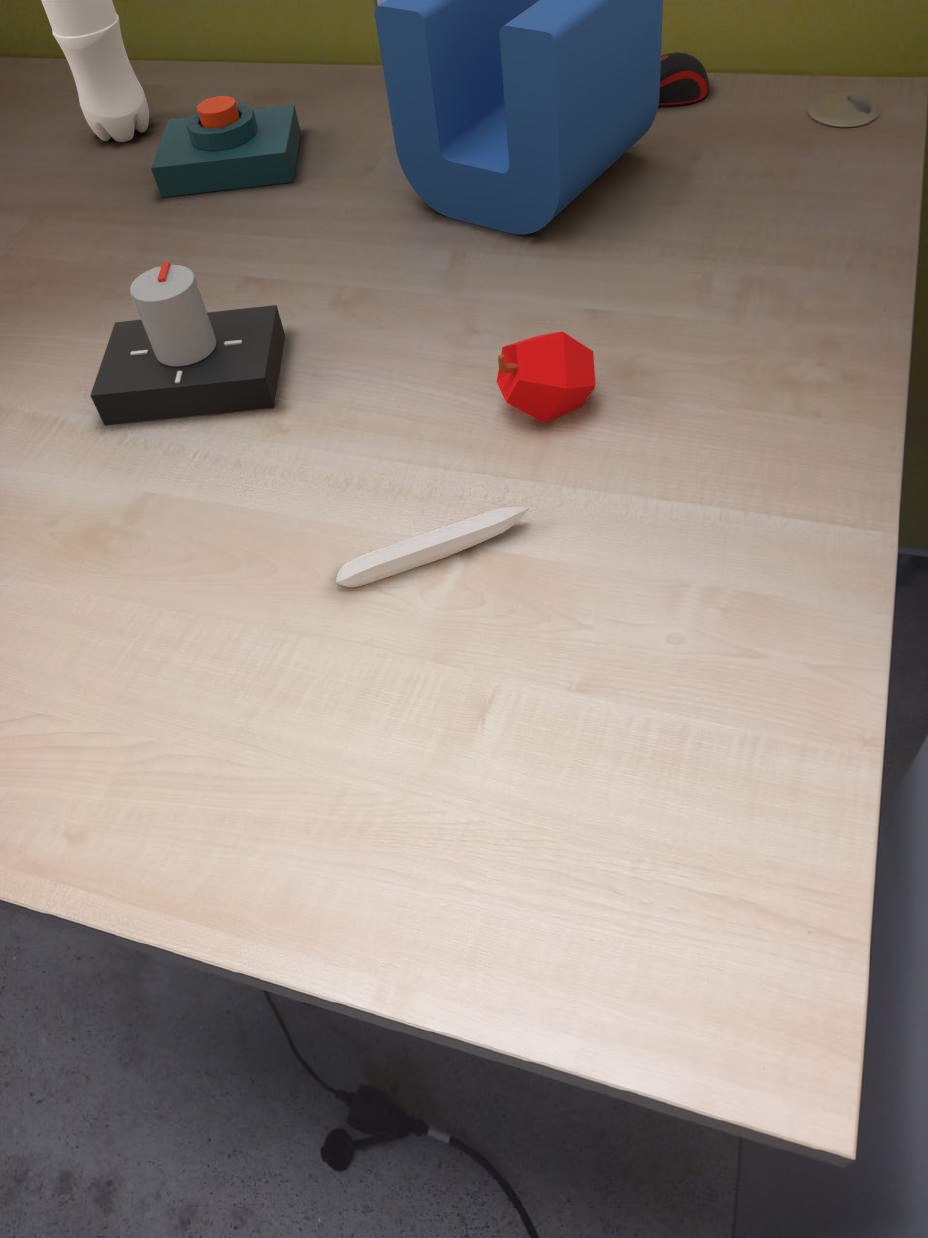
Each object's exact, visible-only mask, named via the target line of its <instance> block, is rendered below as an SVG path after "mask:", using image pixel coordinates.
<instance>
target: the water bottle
mask: <svg viewBox="0 0 928 1238" xmlns="http://www.w3.org/2000/svg"><path fill="white" fill-rule="evenodd" d="M40 1H41V4H42V6H43V8H44V9H43V10H44V11H45V14H46V16H47V19H48V22H49V25H50V27H51V30H52V32H51V34H52V36H53V37H54V39H55V40H56V42H57V43H58V46H59V47H60V49H61V51H62V52H63V54H64V57H65V58H66V60H67V63H68V66H69V68H70V71H71V73H72V74H71V75H72V77H73V80H74V83H75V88H76V91H77V95H78V100H79V107H80V109H81V111H82V114H83V116H84V118H85V121H86V123H87V125H88V126H89V128H90V129H91V131H92V132H93V133H94V134H95V135H96V136H97V137H98V138H99V139H100V140H101V141H103V142H108V141H110V140H111V138H112V139H113V140H114V141H115V142H118V143H126V142H129V141H131V140H132V139H134V135H135V131H137V133H140V134H142V133H145V132H146V131H147V130H148V127H149V123H150V110H149V105H148V101H147V98H146V94H145V91H144V88H143V86H142V85H141V83H140V81H139V79H138V77H137V75H136V74H135V72H134V68H133V67H132V64H131V62H130V60H129V59H130V58H129V57H128V54H127V51H126V48H125V44H124V40H123V39H124V38H123V36H122V35H123V34H122V31H121V26H120V17H119V15H118V13H117V11H116V8H115V5H114V2H113V0H40Z"/></svg>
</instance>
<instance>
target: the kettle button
mask: <svg viewBox="0 0 928 1238" xmlns="http://www.w3.org/2000/svg"><path fill="white" fill-rule="evenodd" d="M236 103H237V102H236V99H235V98H234V97H233V96H229V95H217V96H212V97H208V98H206V99H204V100H202V101H201V102H199V103H198V104H197V106H196V112H198V114H199V118H200V121H201V124H202V127H204V128H210V129H212V128H221V127H225V126H227V125H230V124H233V123H235V122H236V121H237V120H239V119H240V117H239V113H238V109H237V105H236Z"/></svg>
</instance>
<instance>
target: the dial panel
mask: <svg viewBox="0 0 928 1238" xmlns="http://www.w3.org/2000/svg"><path fill="white" fill-rule="evenodd" d="M207 314H208V317H209V320H210V323H211V326H212V329H213V332H214V335H215V338H216V346H215V348H214V350H213V351H212V353H211V354H210V355H208V356H207V357H206V358H204V359H203V360H201V361H199V362H196V363H194V364H190V365H186V366H178V367H177V366H168V365H165V364H163V363H161V362H160V361H159V360H158V359H157V358H156V355H155V353H154V350H153V348H152V345H151V343H150V340H149V338H148V335H147V333H146V330H145V328H144V325H143V323H142V320H141V319H133V320H124V321H115V322H114V324H113V327H112V330H111V333H110V335H109V339H108V342H107V345H106V348H105V350H104V354H103V356H102V359H101V362H100V366H99V368H98V371H97V374H96V377H95V380H94V383H93V386H92V388H91V392H90V398H91V400H92V403H93V405H94V406H95V408H96V412H97V413H98V416H99V417H100V419H101V421H102V423H103V425H104V426H109V425H120V424H129V423H139V422H149V421H158V420H159V421H160V420H169V419H179V418H189V417H198V416H207V415H209V416H210V415H219V414H227V413H238V412H239V413H240V412H248V411H258V410H269V409H274V408H275V406H276V405H275V404H276V399H277V398H276V396H277V390H278V384H279V377H280V371H281V365H282V357H283V351H284V344H285V338H286V333H285V330H284V326H283V323H282V318H281V315H280V312H279V309H278V305H277V304H272V305H264V306H255V307H254V306H253V307H245V308H235V309H226V310H217V311H216V310H215V311H208V312H207Z"/></svg>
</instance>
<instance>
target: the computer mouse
mask: <svg viewBox="0 0 928 1238" xmlns="http://www.w3.org/2000/svg"><path fill="white" fill-rule="evenodd" d="M709 89H710V83H709V77H708V73H707V70H706V68H705V67H704V65H703V63H702V62H701V61H700V60H699V59H698V58H697V57H695V56H693V55H691V54H689V53H687V52H678V51H677V52H669V53H665V54H661V69H660V95H659V105H658V108H660V107H663V108H664V107H678V106H686V105H692V104H695V103H698V102H700V101H702V100H704V99H705V98H706V96H707V95H708V93H709Z"/></svg>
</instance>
